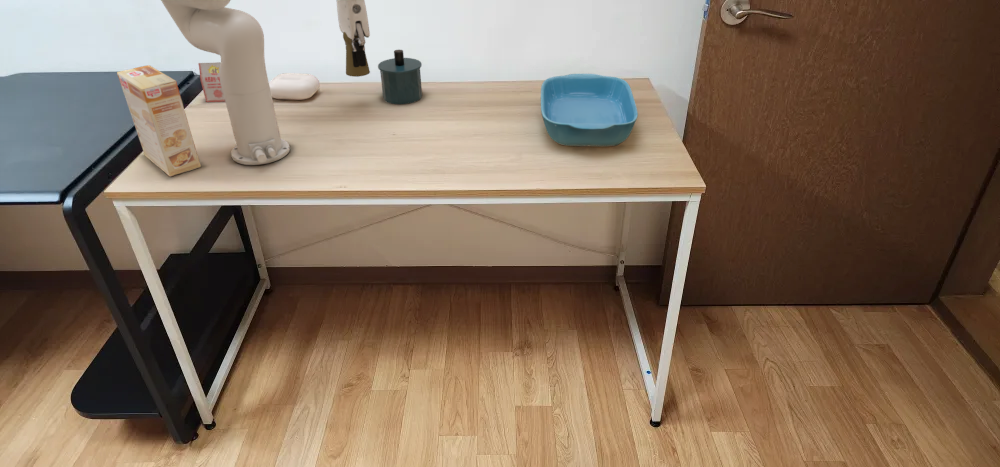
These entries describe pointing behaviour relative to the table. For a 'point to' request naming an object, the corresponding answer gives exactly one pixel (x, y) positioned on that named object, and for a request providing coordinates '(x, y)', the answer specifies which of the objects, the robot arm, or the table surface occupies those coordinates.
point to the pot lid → (399, 64)
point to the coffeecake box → (159, 119)
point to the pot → (401, 87)
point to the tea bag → (211, 81)
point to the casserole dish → (588, 109)
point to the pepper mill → (349, 60)
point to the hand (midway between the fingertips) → (356, 63)
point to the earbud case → (294, 86)
